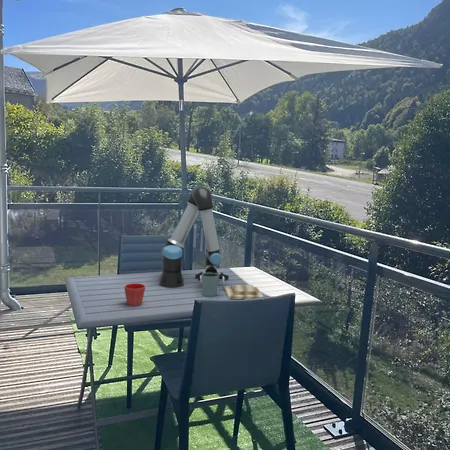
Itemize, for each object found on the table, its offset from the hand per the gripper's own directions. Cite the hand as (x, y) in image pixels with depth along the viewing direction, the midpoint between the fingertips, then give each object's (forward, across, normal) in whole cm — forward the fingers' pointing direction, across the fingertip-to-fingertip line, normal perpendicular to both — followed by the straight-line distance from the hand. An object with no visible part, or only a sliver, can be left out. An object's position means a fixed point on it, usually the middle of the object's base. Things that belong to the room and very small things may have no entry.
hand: (212, 280), depth 266 cm
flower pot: (+25, +42, -7) cm, 49 cm away
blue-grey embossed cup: (+4, +1, -7) cm, 8 cm away
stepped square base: (+3, -19, -7) cm, 20 cm away
